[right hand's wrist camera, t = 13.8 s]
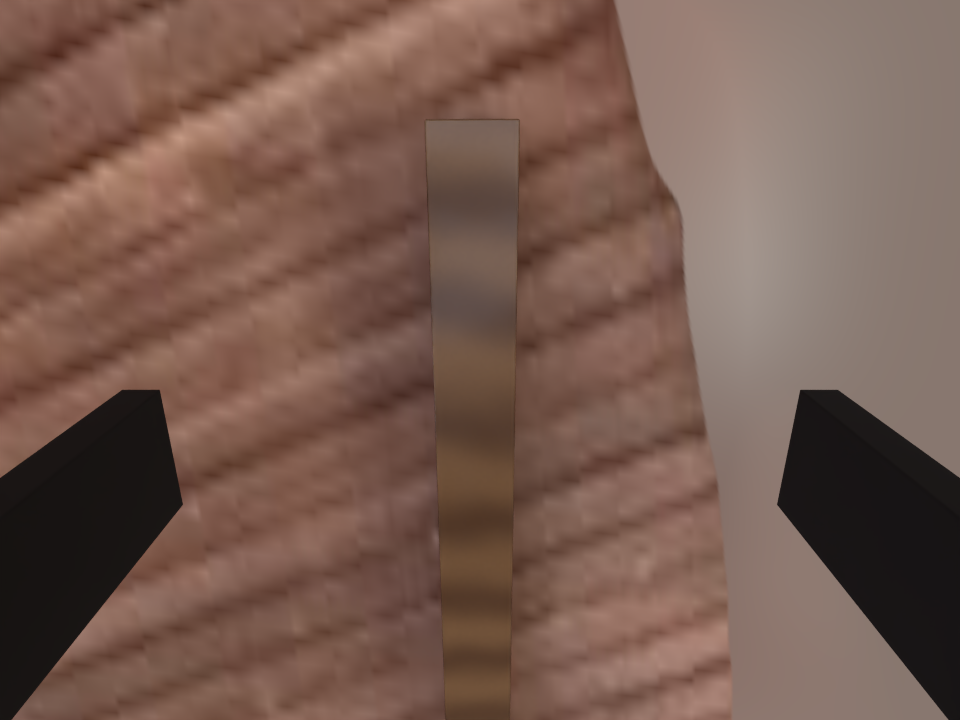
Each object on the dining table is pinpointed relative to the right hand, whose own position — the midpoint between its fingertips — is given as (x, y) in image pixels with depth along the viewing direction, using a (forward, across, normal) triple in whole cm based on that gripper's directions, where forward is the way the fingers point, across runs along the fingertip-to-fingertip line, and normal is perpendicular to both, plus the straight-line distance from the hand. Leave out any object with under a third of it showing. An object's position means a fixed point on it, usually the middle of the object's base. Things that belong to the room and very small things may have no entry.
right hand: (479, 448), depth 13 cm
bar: (+29, 0, -22) cm, 36 cm away
